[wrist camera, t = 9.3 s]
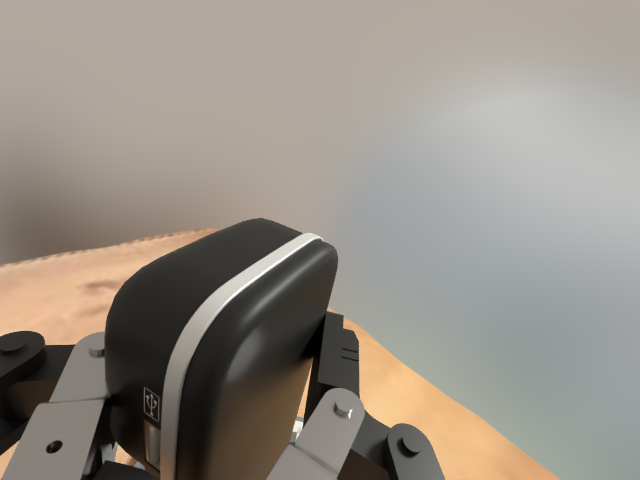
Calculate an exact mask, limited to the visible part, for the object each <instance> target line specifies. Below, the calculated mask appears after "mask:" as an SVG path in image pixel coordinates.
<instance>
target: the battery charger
mask: <svg viewBox="0 0 640 480" xmlns="http://www.w3.org/2000/svg"><path fill="white" fill-rule="evenodd" d="M337 265H338V255H337V251H336V249H335V248H334V247H333V246H332V245H330V244H328V243H326V242H324V240H323V238H321V237H320V236H317V235H315V234H312V233H304V234H303V233H301V232H298V231H296V230H294V229H291V228H289V227H286V226H284V225H281V224H279V223H276V222H274V221H271V220H267V219H263V218H258V219H251V220H247V221H243V222H241V223H238V224H235V225H233V226H230V227H228V228H225V229H223V230H220V231H218V232H215V233H213V234H210V235H208V236H206V237H203V238H201V239H199V240H197V241H195V242H192V243H190V244H188V245H186V246H184V247H182V248H179V249H177V250H175V251H173V252H171V253H169V254H166V255H164V256H162V257H160V258H158V259H156V260H155V261H153V262H151V263H149V264H148V265H146V266H144V267H142V268H141V269H140V270H139V271H137V272H136V273H135V274H134V275H133V276H132V277H130V278H129V279H128V280H127V281H126V282H125V283H124V284H123V286H122V287H121V288H120V290H119V291H118V293H117V294H116V295H115V298H114V300H113V303H112V306H111V308H110V311H109V313H108V316H107V320H106V328H105V337H104V352H105V380H106V382H107V385H108V388H109V391H110V392H111V393H112V404H113V407H112V411H111V418H110V429H111V432H112V435H113V438H114V440H115V441H116V442H117V443H118V444H119V445H120V446H121V447H122V448H123V449H124V451H125V452H127V453H128V454H129V455H130V456H132V457H133V458H134V459H136V460H137V461H138V462H139V463H141V464H142V465H143V466H144V467H145V471H146V472H148V473H150V474H151V475H153V476H154V477H156V478H158V479H159V480H266V479H267V477H268V476H269V474H270V472H271V471H272V469H273V468H274V466H275V465H276V463H277V461H278V460H279V458H280V456H281V455H282V453H283V451H284V450H285V448H286V446H287V445H288V443H289V441H290V439H291V436H292V432H293V428H294V424H295V420H296V417H297V413H298V409H299V406H300V402H301V398H302V395H303V392H304V388H305V385H306V381H307V378H308V375H309V371H310V368H311V364H312V361H313V356H314V353H315V349H316V346H317V343H318V339H319V336H320V332H321V329H322V325H323V322H324V318H325V315H326V311H327V307H328V303H329V300H330V296H331V292H332V288H333V284H334V281H335V276H336V272H337Z"/></svg>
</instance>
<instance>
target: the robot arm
mask: <svg viewBox="0 0 640 480" xmlns="http://www.w3.org/2000/svg"><path fill="white" fill-rule="evenodd" d="M104 337H105V332H97V333H94V334H91V335H88V336H86V337H84V338H83V339H81V340H80V341H79V342H78V343H77V344H76V345H45V340H44V338H43V336H42V335H41V334H39V333H36V332H32V331H19V332H13V333H9V334H6V335H3V336H1V337H0V455H2V454H3V453H4V452H5V451H7V450H8V449H9V448H10V447H11V446H13V445H14V444H15V443H16V442H18V441H19V440H20V441H19V443H18V445H17V447H16V450H15V452H14V454H13V456H12V458H11V460H10V462H9V464H8V466H7V468H6V470H5V472H4V474H3V476H2V478H1V480H159V479H158V478H156V477H154V476H153V475H151V474H150V473H148V472H146V471H145V470H143V469H141V468H137V467H133V466H129V465H125V464H121V463H117V462H114V461H115V455H116V451H117V446H118V443H117V442H116V441H115V440H114V438H113V435H112V432H111V429H110V418H111V411H112V407H113V404H112V393H111V392H110V391H109V388H108V385H107V382H106V380H105V352H104ZM358 353H359V341H358V339H357V337H356V335H355V333H354V331H351V330H347V329H343V315H340V314H336V313H332V312H328V311H326V315H325V318H324V322H323V325H322V329H321V332H320V336H319V339H318V343H317V346H316V349H315V353H314V356H313V362H312V369H311V375H310V382H309V388H308V395H307V401H306V408H305V414H304V421H303V427H302V431H301V433H300V434H299V436H298V437H297V439H296V440H295V442H294V443H293V442H291V443H290V444H289V445H288V446H287V448H286V449H285V451H284V452H283V454H282V455H281V457H280V458H279V460H278V462H277V463H276V465H275V466H274V468H273V469H272V471H271V472H270V474H269V476H268V477H267V479H266V480H445V477H444V475H443V473H442V470H441V468H440V465H439V463H438V460H437V458H436V455H435V453H434V450H433V448H432V445H431V443H430V441H429V440H428V438H427V437H426V436H425V435H424V434H423V433H422V432H421V431H420V430H419V429H417V428H416V427H414V426H412V425H409V424H404V423H401V424H396V425H394V426H393V427H392V428H389V427H388V426H386V425H384V424H382V423H381V422H379V421H377V420H376V419H374V418H373V417H372V416H370V415H369V414H368V413H367V411H366V410H365V409H364V406H363V403H362V402H361V400H360V396H359V354H358Z"/></svg>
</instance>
